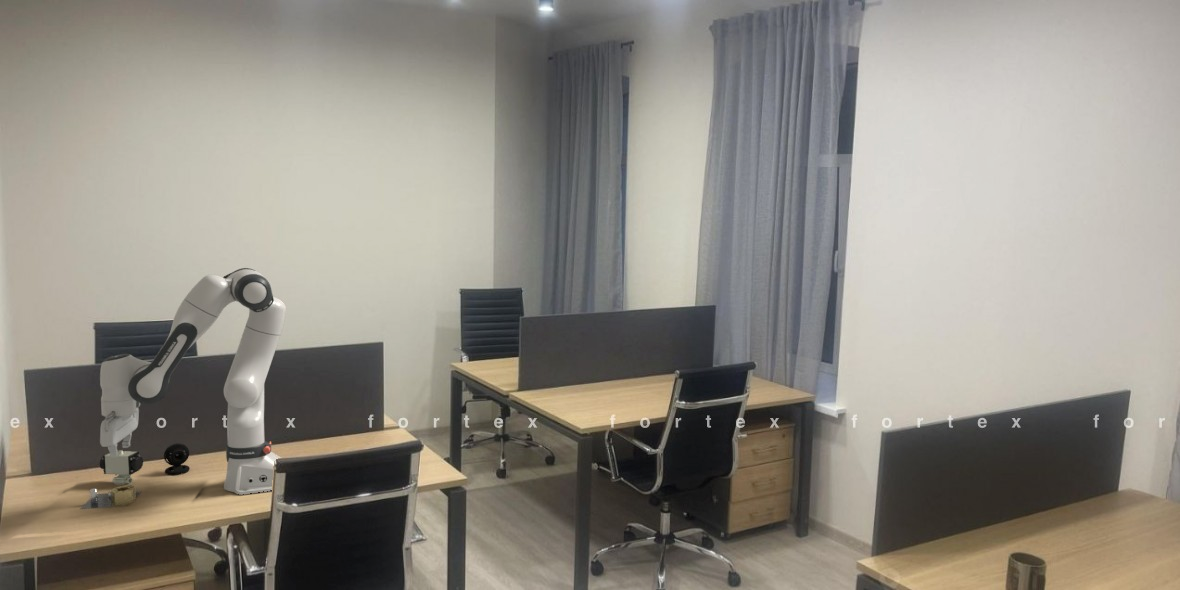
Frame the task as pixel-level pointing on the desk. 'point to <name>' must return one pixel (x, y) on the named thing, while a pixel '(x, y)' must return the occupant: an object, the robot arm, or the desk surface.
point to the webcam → (176, 459)
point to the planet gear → (123, 495)
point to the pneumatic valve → (121, 466)
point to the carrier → (101, 500)
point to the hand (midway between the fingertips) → (120, 452)
